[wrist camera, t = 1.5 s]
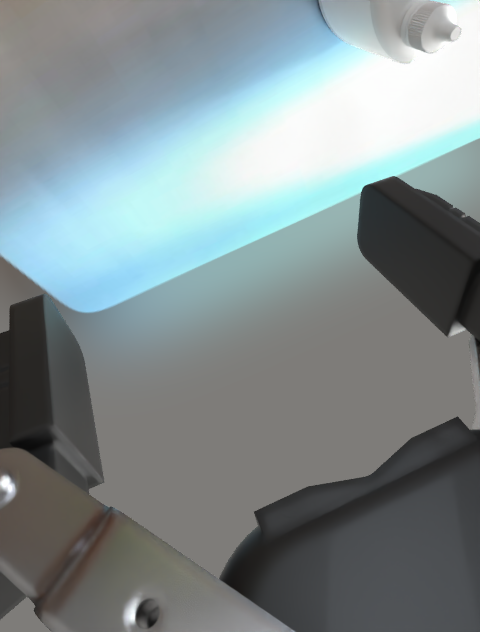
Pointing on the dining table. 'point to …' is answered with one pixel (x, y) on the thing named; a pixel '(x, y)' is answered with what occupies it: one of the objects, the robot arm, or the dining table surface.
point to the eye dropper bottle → (392, 26)
